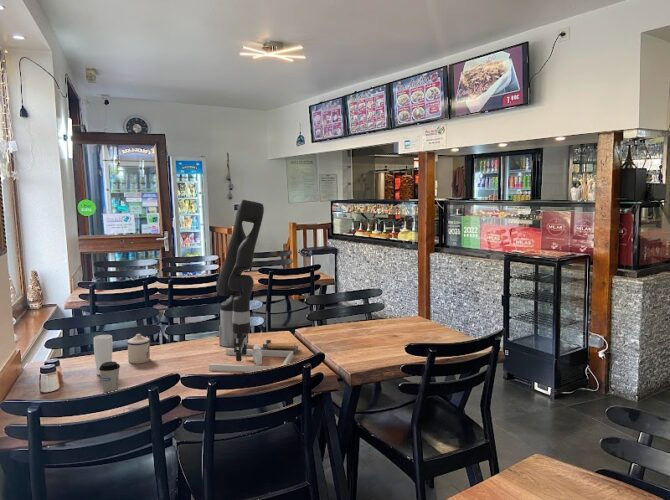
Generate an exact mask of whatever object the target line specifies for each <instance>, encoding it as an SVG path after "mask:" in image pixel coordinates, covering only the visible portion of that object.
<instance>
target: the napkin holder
mask: <svg viewBox="0 0 670 500" xmlns="http://www.w3.org/2000/svg"><path fill="white" fill-rule="evenodd" d="M261 348H262V347H260V345H253V356H252V360H254V361H253V363H254V364H255V363H256V364H255V366H260V365H262V364H263V356H262V353H261ZM259 364H260V365H259Z"/></svg>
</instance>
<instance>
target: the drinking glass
mask: <svg viewBox="0 0 670 500" xmlns="http://www.w3.org/2000/svg"><path fill="white" fill-rule="evenodd" d="M113 344H114V343H113V335H111V334H100V335H98V334H97V335H96V336H94V337H93V353H94V360H95V367H96V374H97V375H98V376H101V374H100V370H99V367H100V366H101V365H102V364H103V363H105V362H112V361H113V360H112V359H113Z"/></svg>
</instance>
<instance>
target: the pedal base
mask: <svg viewBox="0 0 670 500" xmlns="http://www.w3.org/2000/svg"><path fill="white" fill-rule="evenodd" d="M265 342H266V343H263V344H262V347H260V348H261V350H279V351H293V356H294V355H295V356H296V353H297V352H298V350H299V345H295V347H294V348H268V344H267V343H272V340H271V339H266V341H265Z"/></svg>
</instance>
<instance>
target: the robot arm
mask: <svg viewBox="0 0 670 500" xmlns="http://www.w3.org/2000/svg"><path fill="white" fill-rule="evenodd" d="M264 210H265V206H264V204H263V203H260V202H258V201H257V202H256V201H252V200H247V199H241V200H240V202H239V204H238V206H237V210H236V215H235V221H234V225H233V229H232V233H231V237H230V240H229V243H228V245H227V250H226V254H225V256H224V257H225V258H224V262H223V264H222V268H221V271H220V272H219V275H218V277H217V281H216V286H215V288H216V293H217V294H218V296H221V297H228V296H229V297H228V299H226V300H224V301H222V302H221V303H220V305H219V306H220V307H219V308H220V309H219V311H220V317H219V318H220V325H219V326H218V336H219V337H218V339H219V341H218V343H219V346H223V347H233V349H234V352H235V353H236V355H235V361H236V362H241V361H242V359H243V357H242V356H247V355H246V354H247V349H248V344H249V333H250V331H251V312H250V311H251V310H250V305H251V304H250V301H251V297H252V293H253V292H252V291H253V289H254V284H255V281H254V278H253V277H252V276H251V275H250V274H249V275H248V274H243V272H245V271H248V270H251V269H252V267H253V262H254V261H253V260H254V256H255V255H254V253H255V248H256V244H257V242H258V241H257V240H258V238H259V237H258V236H259V233H260V231H261V226H262V222H263V218H264V212H265V211H264ZM243 222H247V223H251V224H253V225H252V229H251V231H250V232H249V233H248V235H247V236H246V234H245V230H244V227H243V226H244V225H243ZM237 349H239V350H237Z"/></svg>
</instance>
